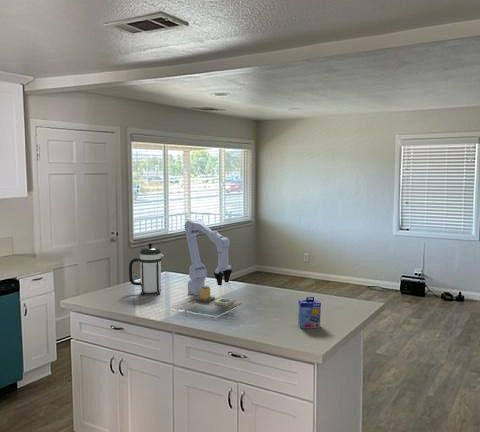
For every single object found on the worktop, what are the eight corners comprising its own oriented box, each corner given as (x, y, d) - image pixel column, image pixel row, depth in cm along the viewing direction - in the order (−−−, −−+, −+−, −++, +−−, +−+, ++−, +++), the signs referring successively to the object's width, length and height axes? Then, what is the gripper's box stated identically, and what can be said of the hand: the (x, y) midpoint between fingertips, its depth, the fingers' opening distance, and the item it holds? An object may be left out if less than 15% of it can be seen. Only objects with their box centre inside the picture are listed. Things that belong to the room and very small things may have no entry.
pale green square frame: (214, 304, 259) (214, 301, 259) (221, 300, 266) (221, 298, 265) (226, 306, 255) (226, 303, 255) (233, 302, 262) (233, 299, 262)
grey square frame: (195, 301, 265) (195, 298, 265) (203, 297, 271) (203, 295, 271) (207, 302, 261) (207, 300, 261) (214, 299, 268) (214, 296, 268)
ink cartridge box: (299, 328, 222) (300, 298, 221) (297, 324, 228) (297, 294, 226) (320, 328, 223) (321, 297, 222) (318, 324, 229) (318, 294, 227)
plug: (200, 300, 265) (200, 286, 265) (204, 299, 269) (204, 285, 268) (206, 301, 263) (206, 287, 263) (210, 299, 267) (210, 286, 266)
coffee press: (152, 288, 297) (152, 240, 294) (168, 292, 286) (168, 243, 283) (128, 293, 285) (127, 243, 282) (144, 298, 274) (143, 246, 271)
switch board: (187, 303, 264) (187, 301, 263) (201, 297, 276) (201, 295, 276) (228, 310, 251) (228, 308, 251) (241, 303, 263) (241, 301, 263)
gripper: (222, 262, 257) (222, 287, 258) (235, 258, 269) (235, 281, 271) (211, 261, 260) (211, 285, 261) (224, 256, 273) (224, 280, 274)
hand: (223, 283), depth 266 cm, fingers open, 7 cm apart
